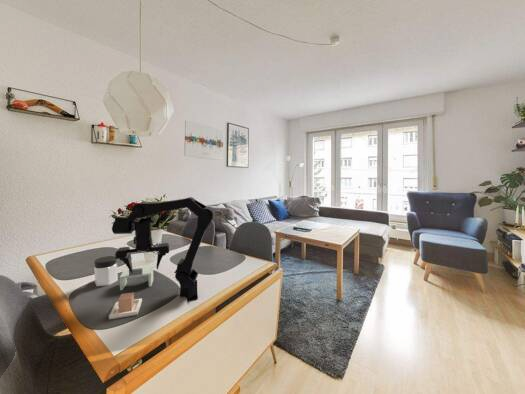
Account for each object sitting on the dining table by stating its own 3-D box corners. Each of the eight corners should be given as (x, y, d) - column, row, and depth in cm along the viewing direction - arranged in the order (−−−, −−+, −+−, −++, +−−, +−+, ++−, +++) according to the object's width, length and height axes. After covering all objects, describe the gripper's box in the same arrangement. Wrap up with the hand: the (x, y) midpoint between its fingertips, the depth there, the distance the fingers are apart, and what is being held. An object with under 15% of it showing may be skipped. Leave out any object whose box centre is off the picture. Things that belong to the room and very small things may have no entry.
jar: (119, 284, 100) (118, 259, 99) (97, 291, 94) (96, 264, 93) (114, 278, 106) (113, 254, 105) (93, 283, 100) (92, 258, 99)
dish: (142, 301, 85) (141, 298, 85) (137, 314, 77) (137, 311, 77) (116, 305, 82) (116, 302, 82) (109, 319, 74) (108, 315, 74)
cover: (153, 279, 103) (153, 262, 102) (151, 286, 96) (150, 268, 96) (124, 282, 99) (123, 265, 98) (120, 290, 92) (119, 271, 92)
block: (134, 305, 82) (133, 292, 81) (131, 311, 78) (131, 298, 78) (121, 306, 81) (121, 294, 80) (118, 313, 77) (118, 299, 76)
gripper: (168, 227, 98) (169, 260, 99) (120, 230, 91) (122, 266, 92) (168, 233, 88) (169, 270, 89) (113, 237, 80) (116, 277, 82)
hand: (144, 270), depth 88 cm, fingers open, 9 cm apart
